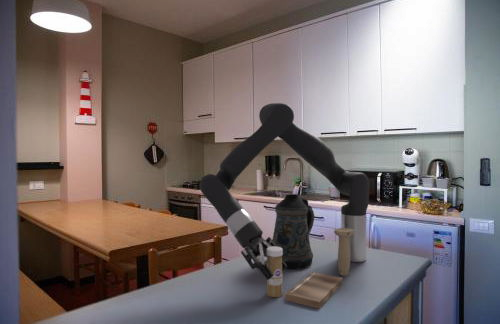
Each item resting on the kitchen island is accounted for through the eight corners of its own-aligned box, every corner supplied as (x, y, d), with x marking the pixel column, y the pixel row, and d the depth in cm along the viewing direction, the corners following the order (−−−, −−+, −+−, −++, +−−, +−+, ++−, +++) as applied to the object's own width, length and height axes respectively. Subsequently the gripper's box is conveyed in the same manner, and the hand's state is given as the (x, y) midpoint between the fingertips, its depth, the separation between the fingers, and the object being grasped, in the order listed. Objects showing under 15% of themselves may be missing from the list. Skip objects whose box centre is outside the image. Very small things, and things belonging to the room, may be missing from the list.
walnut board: (312, 277, 110) (312, 271, 110) (342, 283, 104) (342, 277, 104) (285, 299, 93) (285, 293, 93) (319, 308, 88) (319, 301, 88)
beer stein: (262, 266, 121) (261, 197, 121) (278, 251, 139) (278, 191, 138) (307, 272, 115) (307, 199, 114) (318, 256, 133) (318, 193, 132)
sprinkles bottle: (274, 299, 93) (273, 251, 93) (263, 293, 97) (263, 247, 97) (286, 295, 96) (285, 248, 96) (275, 290, 100) (275, 244, 99)
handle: (356, 275, 111) (356, 230, 111) (339, 278, 109) (339, 232, 109) (347, 271, 116) (347, 227, 115) (331, 273, 114) (331, 229, 113)
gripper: (237, 224, 93) (274, 273, 87) (263, 216, 105) (297, 258, 100) (222, 241, 96) (257, 289, 90) (249, 231, 108) (281, 273, 102)
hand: (278, 273), depth 95 cm, fingers open, 8 cm apart
